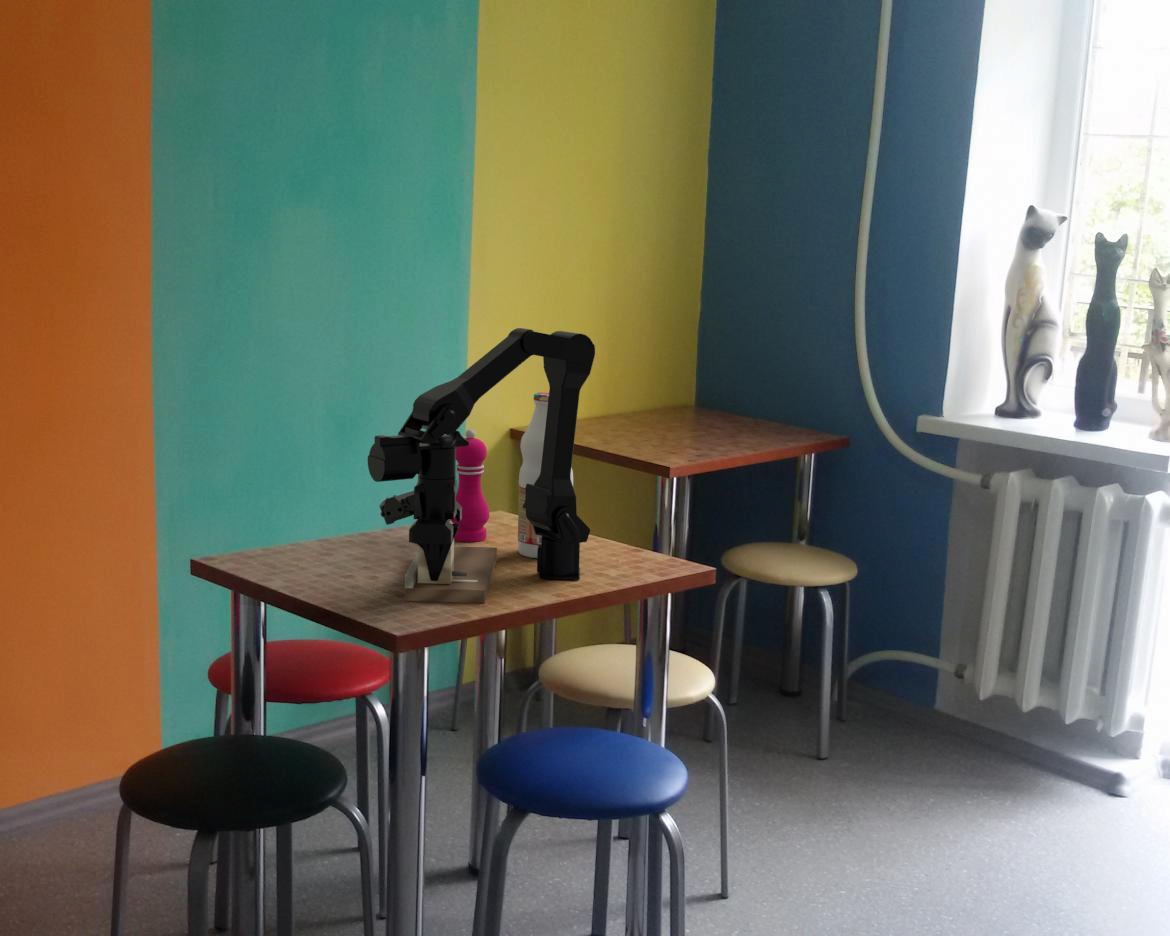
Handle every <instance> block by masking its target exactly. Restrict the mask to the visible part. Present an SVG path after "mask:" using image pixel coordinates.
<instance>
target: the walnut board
mask: <svg viewBox="0 0 1170 936" xmlns="http://www.w3.org/2000/svg"><path fill="white" fill-rule="evenodd" d="M497 556H498V548H497V547H490V546H489V547H488V546H486V547H485V546H460V545H459V546H455V545H454V571H467V576H453V579H452V582H451V584H433V583H418V550H417V552H416V553H415V555H414V557H413V559H412V561H411V562H410V565H409V567H408V568H407V571H406V572H405V574H404V601H405V602H430V603H433V602H435V603H464V604H465V603H466V604H469V603H472V604H473V603H474V604H485V603H486V600H487V596H488V591H489V589H490V584H491V581H492V577H493V574H494V571H495V566H496V563H497V560H498V557H497Z"/></svg>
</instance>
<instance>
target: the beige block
mask: <svg viewBox="0 0 1170 936" xmlns="http://www.w3.org/2000/svg"><path fill="white" fill-rule="evenodd" d="M454 546H455V540H453V542H452V545H451V547H450V550H449V553H448V555H447V558H446V560H445V563H444V566H443V568H442V571H441V573H440V576H439V579H438V580H437V581H431V580H430V576H429V571H428V567H427V563H426V559H425V555H424V551H423V549H422V548H421V547H420V546H419V545H417V551H418V583H433V584H451V582H452V579H453V576H467V571H454Z"/></svg>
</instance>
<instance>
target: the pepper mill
mask: <svg viewBox="0 0 1170 936" xmlns="http://www.w3.org/2000/svg"><path fill="white" fill-rule="evenodd" d="M475 437H476V431H475V430H474V429H472V428H469V429H468V430H466V431H465V437H464V438H465V439H466V440H467V441H468V442H469V445H468V446H462V447H456V473H457V475H458V485H457V491H456V494H455V501H457V502H458V503H459V504H460V505H461V506H462V519H461V521H457V520H456V518H454V520H452V519H449V520H450V522H451V524H459V528H458V530H457V533H456V536H455V538H454V541H456V542H462V543H477V542H483V541H486V540H487V528H485V527H484V526H485V525H486V524H487V523H488V521H489V520H490V510H489V507H488V502H487V501H486V498H485V496H484V494H483V490H482V481H481V480H482V474H483V473H485V472H484V471H485V470H484V468H485V466H484V464H483V462H484V461H486V458H487V457H488V456H487V455H488V450H487V445H486V444H485V442H483V441H482V440H481V439H479V438H475Z"/></svg>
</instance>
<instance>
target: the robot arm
mask: <svg viewBox="0 0 1170 936" xmlns="http://www.w3.org/2000/svg"><path fill="white" fill-rule="evenodd" d="M532 356H537V357H543V369H544V373H545V376H546V380H547V381H548V385H549V390H548V391H549V399H548V408H547V417H546V426H545V436H544V445H543V454H542V463H541V472H540V475H539V477H538V479H537V480H536V482H535V483H534V485H532V484H526V488H525V492H526V498H525V502H524V505H523V508H524V509H526V517H527V519H528V520H529V521H530V523H531V524H532V525H533V528H534V531H535V534H536V535H540V536H542V539H541V545H540V544H539V545H538V550H537V558H536V559H537V560H536V572H537V573H539V579H543V580H580V579H581V577H580V576H581V568H580V559H581V557H580V555H581V554H580V553H581V544H582V543H587V541H588V539H589V535H590V532H591V529H590V527H588V525H587V524H586V523H585V522H584V521H583V520H582V519H581V518H580V516H578V506H577V504H578V503H577V494H576V491H575V489H574V484H573V485H572V482H571V477H570V476H571V467H572V464H573V456H574V448H575V438H576V428H577V422H578V421H577V420H578V411H579V402H580V393H581V389H582V388H583V385H584V384H585V383H586V381H587V380H588V378H589V376H590V375H591V371H592V368H593V363H594V360H595V357H596V346H595V343H594V342H593V341H592V340H591V338H590V337H589V336H588V335H586V334H583V333H578V332H571V331H564V330H557V331H554V332H552V333H551V334H549V333H543V332H538V331H537V330H534V329H531V328H521V327H516V328H515V329H512V330H511V331H510V332H509V333H508V334H507V336H506V337H505V338H504V339H502V340H501V341H500V342H499V343H498V344H496V346H493V348H492V349H490V350H489V351H488V352H487V353H485V354H484V355H483V356H482V357H480V358H479V359H478V360H476V362H474V363H473V364H472V365H471V366H469V367H468V368H467V369H466V370H464V371H463V372H462V373H461V374H460V375H458V376H457V377H455V378H454V379H452V380H450V381H449V380H448V381H447V382H444V383H441V384H438V385H436V386H434V387H432V388H431V389H428V390H427V391H426V392H424V393H422V394H420V395H419V396H417V398H416V399H415V400H414V401H413V404H412V406H413V407H412V411H411V412H410V414H409V416H408V418H407V419H406V421H405V422H404V423H403V425H402V426H401V428H400V430H399V431H398V433H397V435H383V434H382V435H381V434H380V435H375V436H374V444H372V445H371V447H370V450H369V454H368V456H367V466H368V472H369V474H370V477H371V479H372V480H373V481H374V482H376V483H380V482H381V483H382V482H389V481H390V482H391V481H403V480H413V479H414V478H415V477H416V475H417V482H416V485H414V487H413V490H411V491H407V492H405V493H400V494H399V495H396V494H394V495H392V496H391V497H386V498H385V499H384V500H382V502H381V503H380V504H379V509H380V511H381V512H380V516H381V517H382V518H383V520H384V522H385V525H387V526H388V525H392V524H395V522H397V521H400V520H403V519H407V518H409V517H412V516H413V520H416V521H414V522H413V523H412V524H411V526H410V527H409V529H408V543H411V544H415V545H417V546H418V545H419V546H420V547H421V548H422V549H423V551H424V555H425V559H426V563H427V567H428V571H429V576H430V580H431V581H437V580H438V579H439V576H440V573H441V571H442V568H443V566H444V563H445V560H446V558H447V555H448V553H449V550H450V547H451V545H452V542H453V540H454V538H455V536H456V533H457V530H458V528H459V524H453V523H452V522H451V520H450V519H452V520H454V518H456V520H457V521H461V519H462V506H461V505H460V504H459V503H458V502H457V501H455V496H456V493H457V491H456V489H458V480H456V479H457V478H456V476H457V475H456V473H457V472H456V470H457V467H456V465H457V461H456V447H462V446H468V445H469V442H468V441H467V440H466V439H465V438H466V437H464V436H463V435H462V434H461V432H460V431H459V430H458V429H460V427H461V426H462V424H464V423H465V421H466V420H467V419H468V418H469V416H470V415H471V413H472V411H473V409H474V406H475V404H476V403H477V402H478V401H479V400H480V399H481V398H482V397H483V396H484V395H486V394H487V393H488V392H489V391H490V390H492V389H493V388H494V387H495V386H496V385H498V384H499V383H500V382H501V381H502V380H503V379H505V378H506V377H507V376H508V375H509V374H511V373H512V372H514V370H516V369H517V368H518V367H519V366H521V364H523V363H524V362H526V361H527V360H528V359H530V357H532ZM454 541H455V540H454Z"/></svg>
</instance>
